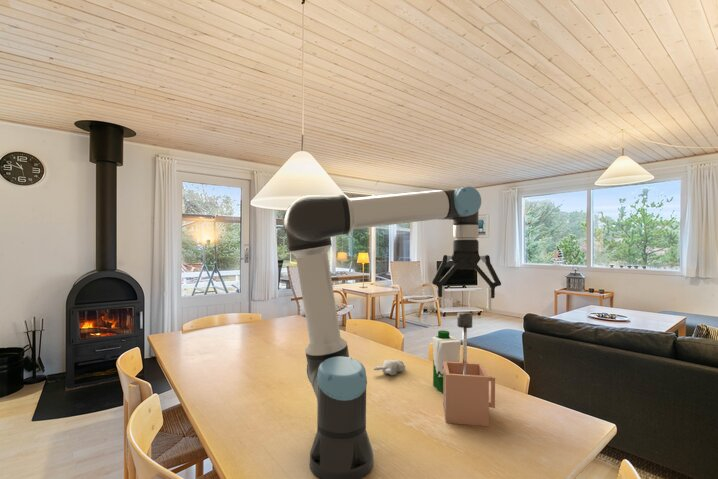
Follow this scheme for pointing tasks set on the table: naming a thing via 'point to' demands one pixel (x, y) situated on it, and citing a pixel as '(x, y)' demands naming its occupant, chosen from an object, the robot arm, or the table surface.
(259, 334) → the table surface
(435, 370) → the soya milk
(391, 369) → the bunny figurine
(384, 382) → the table surface
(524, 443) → the table surface
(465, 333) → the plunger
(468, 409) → the square pink mug
